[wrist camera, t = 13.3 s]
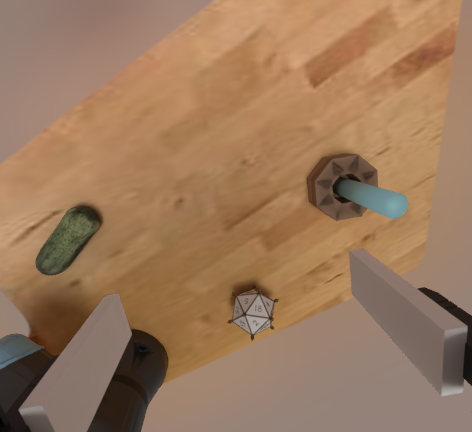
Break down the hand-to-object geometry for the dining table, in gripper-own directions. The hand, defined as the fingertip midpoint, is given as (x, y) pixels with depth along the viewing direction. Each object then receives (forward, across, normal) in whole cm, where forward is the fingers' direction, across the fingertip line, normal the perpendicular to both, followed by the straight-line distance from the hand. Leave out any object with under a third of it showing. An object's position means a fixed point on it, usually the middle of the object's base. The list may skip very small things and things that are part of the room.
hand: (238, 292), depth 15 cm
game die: (+32, +1, -21) cm, 38 cm away
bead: (+32, +19, -2) cm, 37 cm away
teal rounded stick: (+32, +19, -2) cm, 37 cm away
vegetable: (+32, -27, -3) cm, 42 cm away
